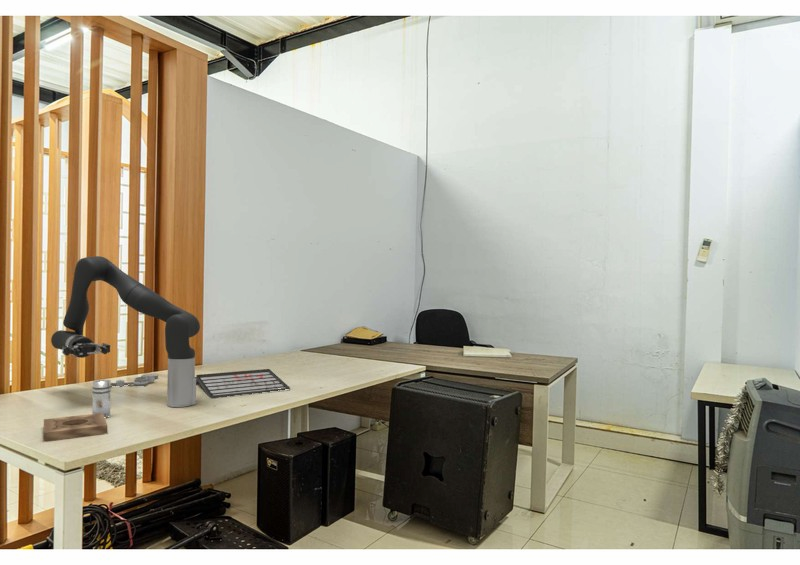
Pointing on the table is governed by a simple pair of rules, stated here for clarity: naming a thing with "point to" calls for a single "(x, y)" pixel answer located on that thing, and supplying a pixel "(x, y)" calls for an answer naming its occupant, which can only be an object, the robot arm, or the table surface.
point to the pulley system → (138, 380)
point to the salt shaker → (101, 397)
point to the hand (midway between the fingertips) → (92, 352)
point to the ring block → (74, 426)
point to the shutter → (240, 383)
